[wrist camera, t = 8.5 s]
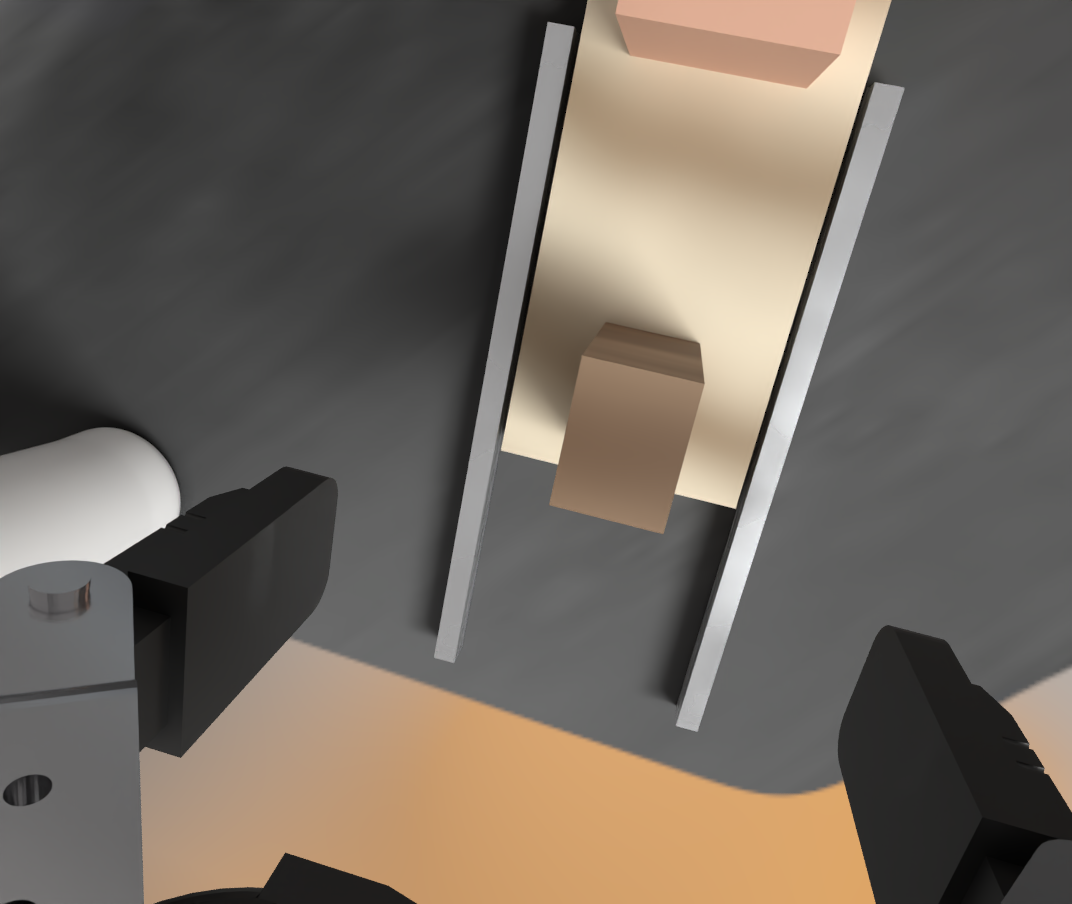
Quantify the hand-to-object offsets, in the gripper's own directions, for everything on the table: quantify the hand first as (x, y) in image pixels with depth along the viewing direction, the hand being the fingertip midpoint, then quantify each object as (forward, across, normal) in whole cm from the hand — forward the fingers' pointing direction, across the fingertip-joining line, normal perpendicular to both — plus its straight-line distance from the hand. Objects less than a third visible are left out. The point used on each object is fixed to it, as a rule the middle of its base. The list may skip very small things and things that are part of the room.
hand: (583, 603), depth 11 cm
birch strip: (+16, 0, -8) cm, 18 cm away
